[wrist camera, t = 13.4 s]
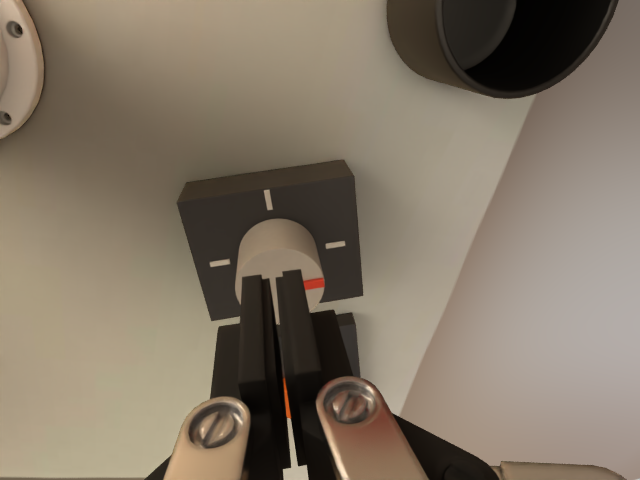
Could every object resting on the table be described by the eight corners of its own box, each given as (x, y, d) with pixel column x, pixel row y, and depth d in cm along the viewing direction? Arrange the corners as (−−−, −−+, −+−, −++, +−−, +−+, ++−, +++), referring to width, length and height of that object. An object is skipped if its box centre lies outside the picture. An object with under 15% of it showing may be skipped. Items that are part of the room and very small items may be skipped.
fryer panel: (216, 292, 36) (210, 322, 32) (185, 182, 31) (175, 202, 27) (353, 270, 36) (364, 297, 33) (344, 159, 32) (354, 176, 28)
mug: (523, 96, 31) (614, 119, 23) (370, 68, 29) (412, 83, 21) (577, -53, 27) (710, -89, 19) (405, -99, 25) (473, -160, 17)
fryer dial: (246, 291, 31) (244, 332, 27) (231, 224, 28) (226, 258, 24) (320, 280, 31) (329, 318, 27) (311, 212, 29) (320, 244, 25)
